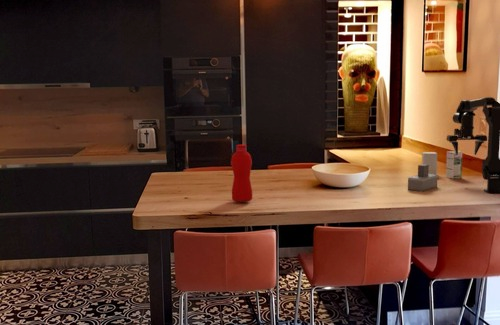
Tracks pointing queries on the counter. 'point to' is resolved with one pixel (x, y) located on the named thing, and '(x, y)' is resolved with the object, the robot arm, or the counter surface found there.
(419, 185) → the tub
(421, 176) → the lid
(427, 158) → the supplement box
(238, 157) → the water bottle
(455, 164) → the syrup box
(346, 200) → the counter surface
